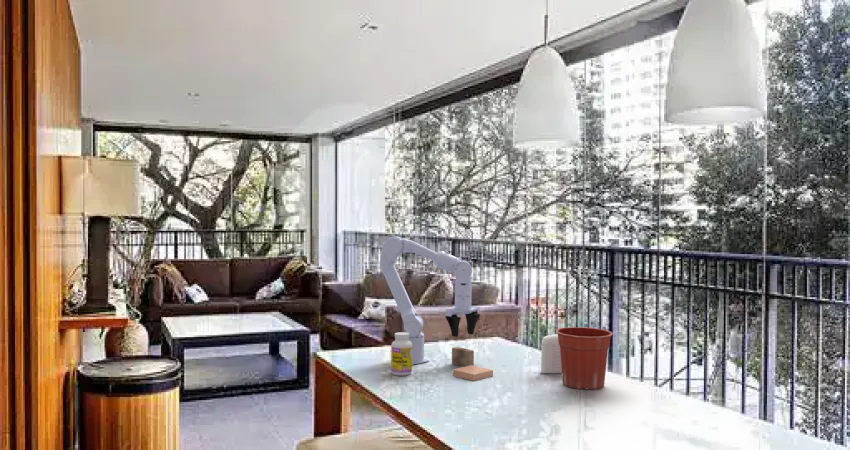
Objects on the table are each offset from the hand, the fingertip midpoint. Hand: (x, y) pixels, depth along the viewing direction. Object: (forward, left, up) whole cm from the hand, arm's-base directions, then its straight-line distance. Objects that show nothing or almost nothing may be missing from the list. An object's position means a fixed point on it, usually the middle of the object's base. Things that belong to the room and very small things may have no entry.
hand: (462, 335), depth 226 cm
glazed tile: (+11, -11, -9) cm, 18 cm away
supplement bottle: (-1, -27, -10) cm, 28 cm away
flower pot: (+45, +6, -10) cm, 46 cm away
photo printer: (+30, +13, -10) cm, 34 cm away
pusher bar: (+3, -3, -10) cm, 10 cm away
